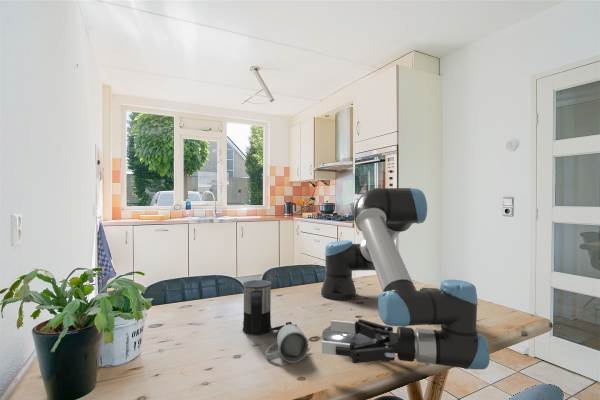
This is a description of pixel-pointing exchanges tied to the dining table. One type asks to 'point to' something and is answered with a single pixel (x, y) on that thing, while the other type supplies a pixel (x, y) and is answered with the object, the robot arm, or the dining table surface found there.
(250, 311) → the milk frother
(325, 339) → the plate
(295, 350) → the ceramic mug
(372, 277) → the dining table surface
